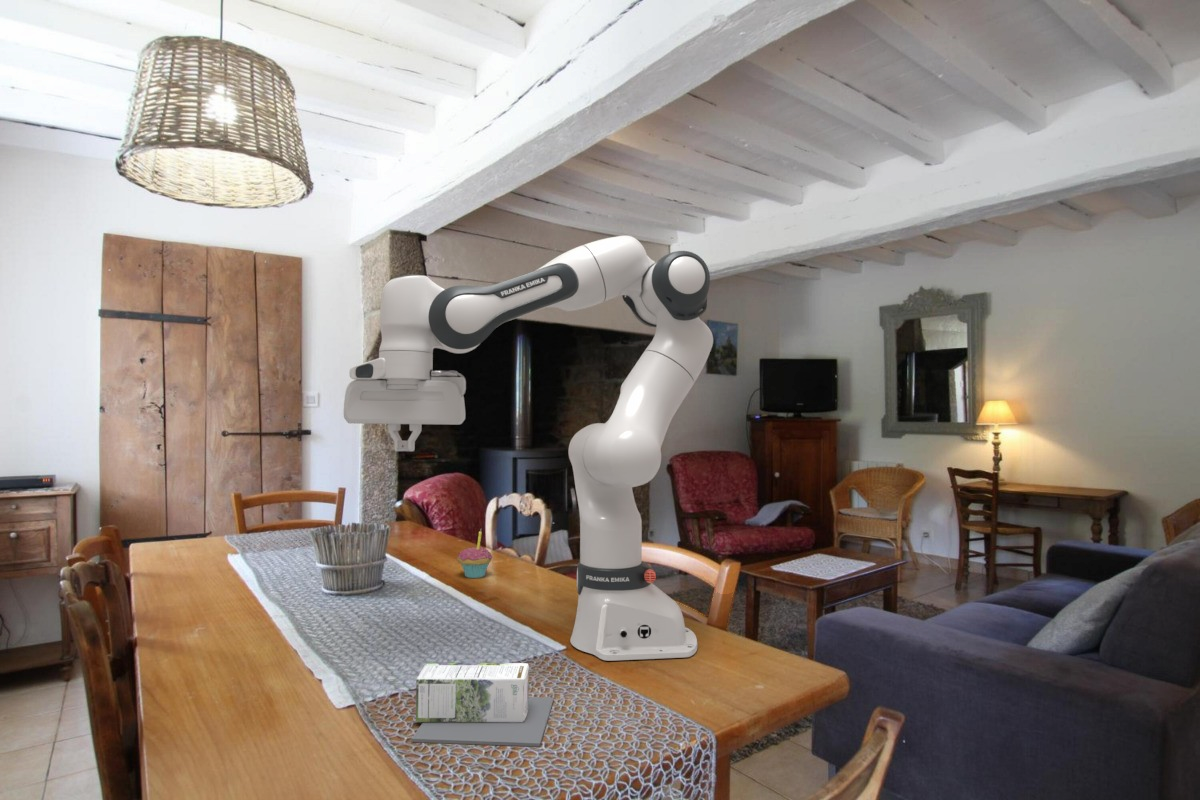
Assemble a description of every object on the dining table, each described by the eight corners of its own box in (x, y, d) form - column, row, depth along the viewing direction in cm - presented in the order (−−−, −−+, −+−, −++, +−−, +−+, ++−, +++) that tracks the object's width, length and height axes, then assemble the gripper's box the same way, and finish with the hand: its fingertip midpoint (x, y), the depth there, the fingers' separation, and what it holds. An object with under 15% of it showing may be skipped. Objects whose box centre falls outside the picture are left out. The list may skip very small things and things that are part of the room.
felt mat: (553, 700, 93) (553, 697, 93) (539, 746, 80) (539, 743, 80) (442, 696, 94) (442, 694, 94) (411, 742, 81) (411, 738, 81)
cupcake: (498, 574, 166) (499, 527, 166) (475, 582, 158) (476, 532, 159) (473, 570, 170) (474, 523, 170) (449, 577, 163) (450, 528, 163)
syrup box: (424, 704, 91) (529, 703, 91) (414, 723, 85) (526, 722, 86) (425, 662, 91) (530, 661, 92) (414, 679, 85) (526, 678, 86)
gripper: (470, 371, 115) (469, 451, 114) (356, 371, 116) (354, 449, 115) (461, 369, 108) (459, 453, 108) (340, 368, 109) (338, 451, 109)
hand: (404, 451), depth 112 cm, fingers closed
